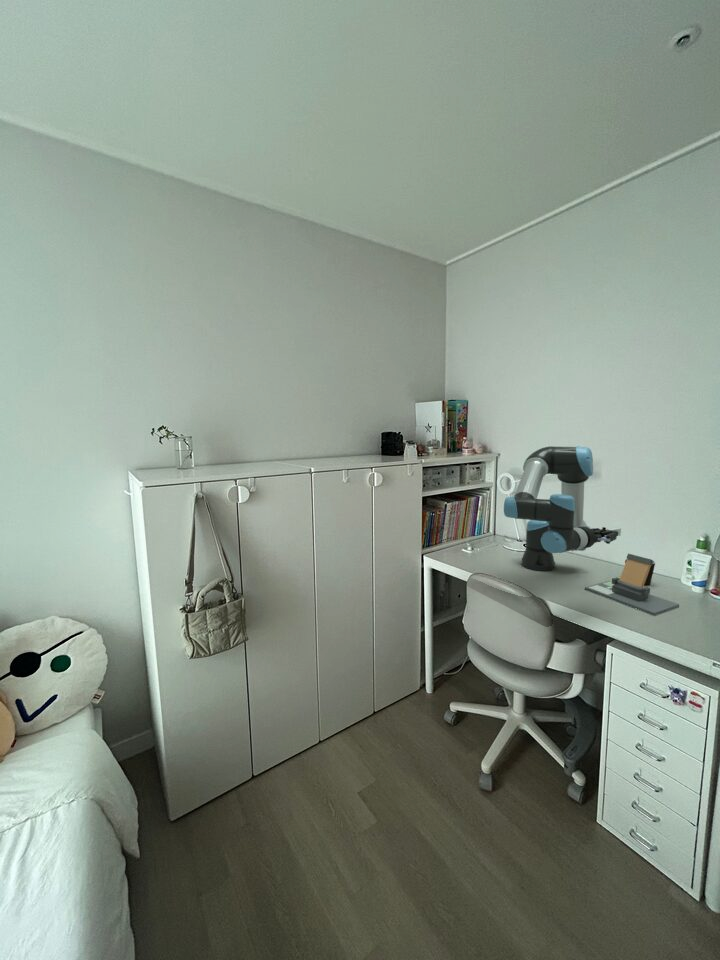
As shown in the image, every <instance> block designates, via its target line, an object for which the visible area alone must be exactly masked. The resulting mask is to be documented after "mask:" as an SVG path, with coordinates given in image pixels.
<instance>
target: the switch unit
mask: <svg viewBox="0 0 720 960" xmlns="http://www.w3.org/2000/svg"><path fill="white" fill-rule="evenodd" d="M618 580H620V577H613V578H611V580H607V581H604V582H600V583H596V584H592V585H588V586H586V587H584V590H585V591H588V592H590V593H593V594H595V595H598V596H600V595H601V597H603V596H604V598H606V599H608V598H609V600H611V599H612V601H614V600H615V602H616V601H618V602H617V603H619V602H620V603H619V604H622V603H623V604H622V605H624V604H625V606H627V605H628V606H627V607H630V606H631V607H630V608H632V607H634V608H633V609H635V608H637V609H636V610H638V609H639V610H638V611H640V610H642V611H641V612H643V611H645V612H644V613H646V612H647V613H646V614H648V613H650V614H649V615H651V614H652V615H651V616H654V615H655V616H658V615H661V614H663V613H666V612H668V611H671V610H674V609H677V608H680V604H679V603H677V602H674V601H671V600H667V599H664V598H662V597H659V596H656V595H653V594H651V587H649V586H644V587H643V588H642V591H639V590H636V589H633V588H630V587H627V586H624V585H621V584H618V583H617V581H618ZM660 613H661V614H660ZM657 614H658V615H657Z"/></svg>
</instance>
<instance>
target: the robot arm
mask: <svg viewBox="0 0 720 960" xmlns="http://www.w3.org/2000/svg"><path fill="white" fill-rule="evenodd" d="M522 470H523V472H522V475H521V478H520V480H519V482H518V485H517V487H516V490H515V493H514V496H507V497H505V499H504V502H503V514H504V516H505V517H506V518H510V519H515V520H517V519H518V520H527V524H526V532H525V533H526V535H525V536H526V537H525V551H524V553H523V555H522V558H521V560H520V561H521V566H522V567H524V568H526V569H530V570H533V571H541V572H547V571H548V572H550V571H553V570H555V569H556V561H555V559H554V554H562V553H565V552H574V551H575V552H577V551H580V552H581V551H582V552H584V551H586V550H587V549H588V548H591V547H592V546H593V545H594V544H595V543H601V542H603V543H606V544H608V545H610V544H611V542H613V541H616V540H617V537H620V536H621V533H622V528H619V527H613V528H607V527H605V526H602V528H599V527H598V528H591V527H590V526H588V525H587V523H586V520H584V506H585V505H584V499H585V482H587V481H588V480H589V477H591V476H593V474H594V460H593V452H592V449H590V447H588V446H579V445H578V446H554V445H553V446H550V445H549V446H545V447H542V448H539V449H536V450H535V451H534V452H532V453H531V454H530V455H528V456H527V457H526V458H525V460H524V463H523V466H522ZM546 475H557V476H556V477H557V479H558V480H559V481H560V482H561V486H560V487H561V493H560V494H559V493H558V494H556V493H553V494H550V497H549V498H548V499H547V498H545V499H544V498H543V499H542V498H538V496H539V492H540V489H541V486H542V483H543V480H544V477H545V476H546Z"/></svg>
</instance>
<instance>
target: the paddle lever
mask: <svg viewBox="0 0 720 960" xmlns="http://www.w3.org/2000/svg"><path fill="white" fill-rule="evenodd" d="M626 559H627V561H626V563H625V562H624V567H623V569H622V572H621V575H620V577H619V578H620V580H618V581H617V583H618V584H621V585H624V586H627V587H630V588H633V589H636V590H639V591H642V588H645V586H644V584H645V581H646V578H647V576H648V573H649V570H650V567H651V566H652V565H653V562H655V560H653V559H652V558H651V559H650V558H648V557H645V556H644V557H643V556H639V555H635V554H632V553H627V556H626Z"/></svg>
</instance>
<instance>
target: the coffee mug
mask: <svg viewBox="0 0 720 960" xmlns="http://www.w3.org/2000/svg"><path fill="white" fill-rule="evenodd" d="M626 561H627V558H626V559H625V560H624V564H625V563H626ZM655 566H656V561H654V562H653V565H652V566H651V567H650V570H649V573H648V576H647V578H646V581H645V584H644V587H649V586H651V583H652V578H653V574H654V570H655Z"/></svg>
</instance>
